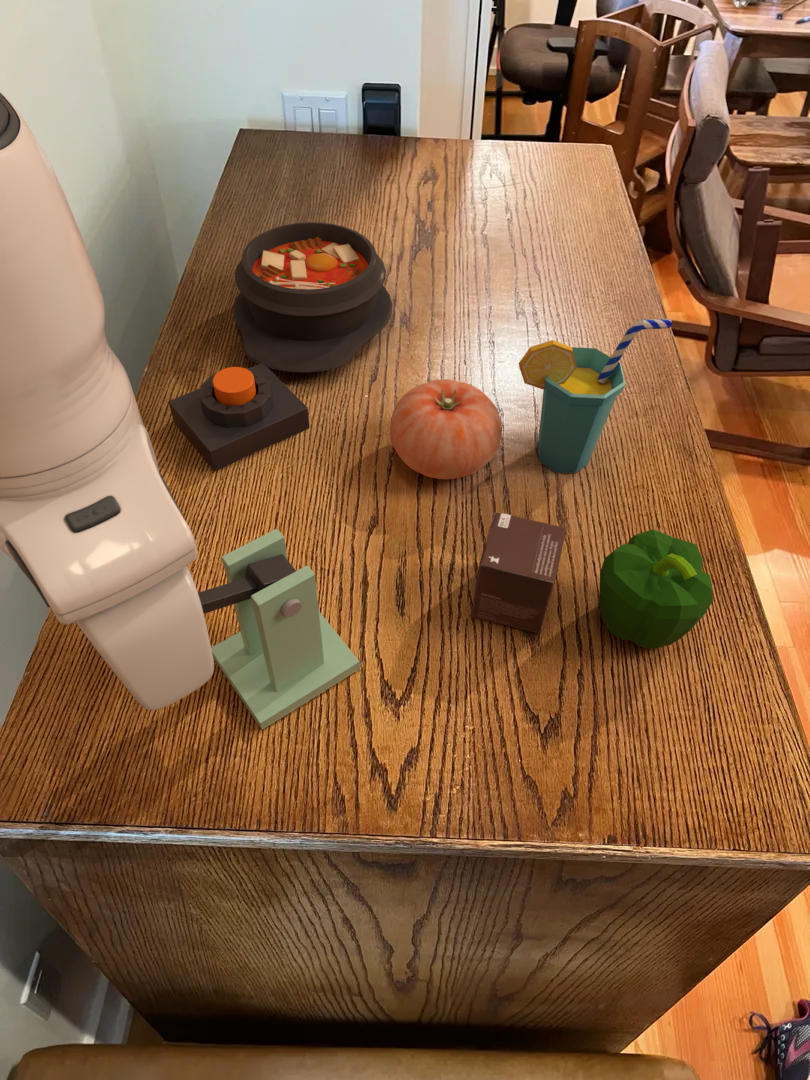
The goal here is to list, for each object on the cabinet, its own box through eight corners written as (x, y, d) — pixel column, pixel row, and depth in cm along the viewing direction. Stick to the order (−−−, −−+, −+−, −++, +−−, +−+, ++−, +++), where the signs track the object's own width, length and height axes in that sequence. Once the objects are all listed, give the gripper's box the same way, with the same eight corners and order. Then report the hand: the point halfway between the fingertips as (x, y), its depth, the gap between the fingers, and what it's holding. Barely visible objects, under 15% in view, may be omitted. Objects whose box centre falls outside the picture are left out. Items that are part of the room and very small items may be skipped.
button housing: (214, 471, 75) (206, 437, 72) (173, 421, 80) (163, 386, 76) (309, 427, 79) (306, 393, 76) (265, 382, 84) (260, 348, 80)
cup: (611, 415, 82) (650, 290, 70) (650, 464, 77) (697, 339, 66) (492, 443, 79) (511, 317, 67) (524, 495, 74) (551, 370, 62)
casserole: (377, 394, 83) (377, 328, 77) (209, 378, 84) (195, 311, 78) (403, 269, 99) (405, 206, 93) (262, 257, 100) (253, 194, 94)
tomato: (418, 511, 72) (421, 449, 66) (372, 439, 79) (371, 376, 72) (517, 477, 76) (529, 416, 69) (465, 411, 82) (472, 348, 76)
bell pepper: (577, 584, 67) (603, 508, 60) (669, 580, 68) (706, 504, 60) (600, 668, 62) (631, 596, 54) (699, 662, 63) (743, 591, 55)
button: (227, 411, 75) (224, 397, 73) (208, 390, 77) (205, 376, 75) (263, 396, 76) (261, 382, 75) (243, 375, 78) (241, 361, 77)
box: (539, 636, 64) (554, 584, 58) (469, 618, 65) (477, 565, 59) (552, 580, 68) (567, 526, 62) (485, 564, 69) (495, 509, 63)
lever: (137, 669, 46) (139, 644, 45) (104, 614, 49) (105, 587, 47) (303, 611, 54) (309, 586, 52) (267, 565, 56) (272, 540, 55)
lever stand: (261, 730, 58) (237, 639, 48) (211, 656, 62) (179, 557, 52) (360, 669, 61) (356, 572, 52) (306, 602, 65) (293, 501, 56)
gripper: (-83, 365, 40) (16, 536, 51) (66, 636, 30) (150, 778, 40) (37, 324, 42) (107, 495, 53) (213, 560, 32) (255, 713, 43)
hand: (127, 619), depth 47 cm, fingers closed, pressing on lever
